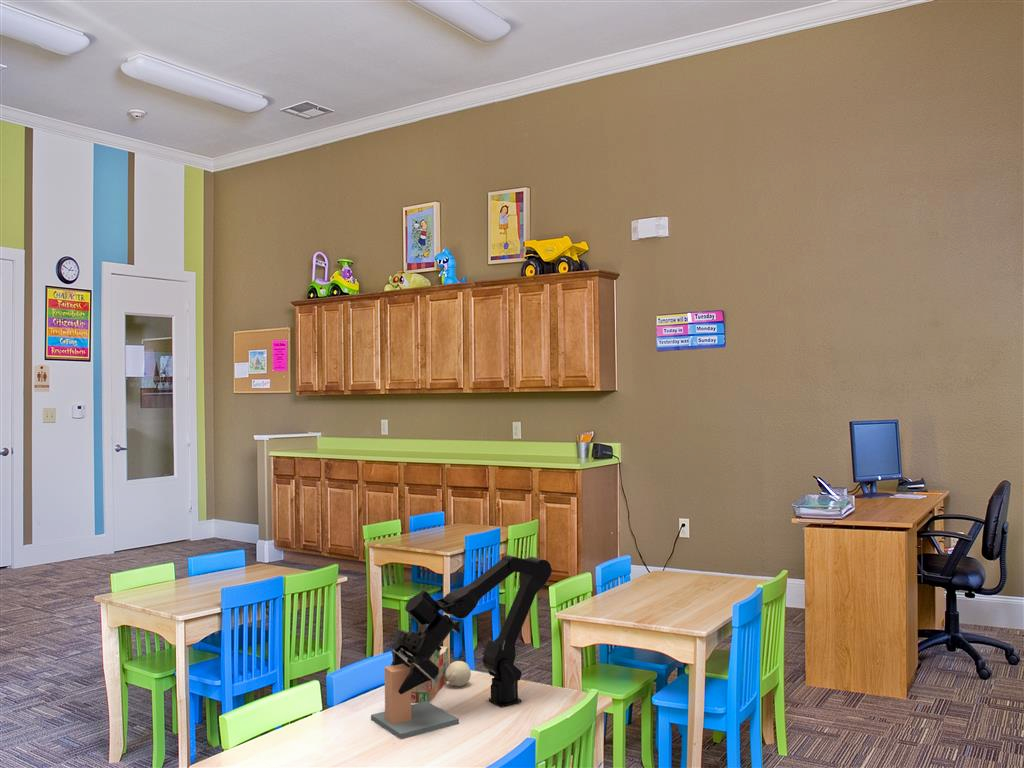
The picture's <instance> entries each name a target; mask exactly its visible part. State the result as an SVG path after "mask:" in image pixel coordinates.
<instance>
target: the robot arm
mask: <svg viewBox="0 0 1024 768" xmlns="http://www.w3.org/2000/svg"><path fill="white" fill-rule="evenodd" d="M552 571H553V568H552V565H551V564H550V562H549V561H548V560H547V559H543V558H539V557H535V556H529V557H526V558H523V557H522V558H521V557H517V556H513V555H509V554H505V555H503V556H502V557H501V559H500V560H499V561H497V562H496V563H495V564H494V565H492V566H491V567H490V568H489V569H488V570H486V571H484V573H482V574H481V575H479V576H478V577H476V579H474V580H473V581H471V582H470V583H469V584H467V585H465V586H462V587H459V588H458V587H457V588H456V589H454V590H452V591H451V592H448V593H447V594H445V596H444V597H442V598H439V599H434V598H433V597H432V596H431V594H430V593H428V591H426V590H424V589H422V590H421V591H420V592H419V593H416V594H415V595H414V596H412V597H410V598H409V600H408V601H407V602H406V604H405V607H404V608H405V611H406V613H407V614H408V615H410V616H411V617H412V618H413V619H414V620H415V621H416V622H417V623H418V624H419V625H421V626H423V625H426V626H425V627H424V628H423V630H422V631H421V630H417V631H412V630H409V631H406V630H404V629H402V628H401V629H400V628H398V627H396V628H395V632H394V634H393V635H392V638H391V642H393V644H392V645H391V647H390V648H391V651H390V652H391V654H392V655H391V656H392V662H391V664H390V666H393V665H399V664H404V665H406V666H407V667H409V668H410V673H409V674H408V676H407V677H406V679H405V680H404V682H403V684H402V685H401V687H400V689H399V690H398V692H399V693H400V694H403V693H405V692H407V691H409V690H410V689H412V688H414V687H416V686H418V685H420V684H422V683H424V682H426V681H430V680H431V679H430V678H429V677H431V678H432V679H434V680H435V678H436V677H437V676H438V674H439V668H438V667H437V666H436V665H435V664H434V663H433V662H432V661H431V660H430V658H431V657H432V655H433V654H434V653H435V651H436V650H437V651H440V650H441V649H442V648H441V647H442V646H441V645H442V644H443V643H444V641H445V640H446V639H447V637H448V636H449V634H451V632H452V631H453V632H454V633H457V634H460V633H461V627H460V625H461V624H460V621H458V620H457V619H460V620H463V619H466V618H467V617H468V616H469V615H470V614H471V613H472V612H473V610H475V608H476V607H477V606H478V604H479V601H480V600H481V599H482V598H483V597H484V596H485V595H487V594H488V593H489V592H490V591H492V590H493V589H494V588H495V587H497V586H498V585H500V584H501V583H502V582H503V581H504V580H506V579H507V578H508V577H510V576H511V575H512V574H513V573H519V586H518V590H517V592H516V594H515V597H514V598H513V601H512V604H511V606H510V609H509V611H508V614H507V616H506V618H505V621H504V622H503V623H504V624H503V626H502V628H501V630H500V631H499V635H498V636H497V638H495V639H494V641H493V640H491V639H488V640H487V643H486V647H485V650H484V651H483V652H482V653H481V654H482V655H483V657H482V663H483V666H484V668H485V669H486V670H487V672H488V674H489V676H492V678H491V685H490V697H489V698H488V701H489V702H491V703H493V704H495V705H497V706H499V707H506V706H509V705H514V704H517V703H521V702H522V698H520V697H519V691H518V690H519V684H518V681H519V682H520V681H521V678H522V674H523V672H522V671H521V670H520V668H518V667H517V666H516V665H515V661H516V656H517V655H516V644H517V641H518V638H519V636H520V634H521V632H522V629H523V626H524V624H525V622H526V619H527V616H528V614H529V612H530V609H531V607H532V605H533V603H534V599H535V597H536V595H537V593H539V591H541V590H542V589H543V588H544V587H545V586H546V584H547V582H548V581H549V579H550V578H551V575H552ZM440 612H441V613H440ZM442 613H444V614H443V615H442ZM449 615H450V616H451V617H454V618H456V620H453V619H452V618H451V617H450V616H449ZM407 662H408V663H409V664H410V665H409V664H408V663H407ZM412 663H415V664H417V665H416V666H415V665H414V664H412Z"/></svg>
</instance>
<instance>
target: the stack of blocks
mask: <svg viewBox="0 0 1024 768" xmlns="http://www.w3.org/2000/svg"><path fill="white" fill-rule="evenodd" d="M440 647H441V648H442V649H441V650H440V651H437V650H436V651H435V653H434V654H433V655H432V657H431V658H430V660H431V661H432V662H433V663H434V664H435V665H436V666H437V667H438V668H439V674H438V676H437V677H436V678H435V680H434V679H432V678H431V677H429V678H430V679H431V680H430V681H426V682H424V683H422V684H420V685H418V686H416V687H414V688H412V689H411V704H418V703H422V702H426V701H427V702H429V703H431V702H432V700H434V698H435V697H436V696H437V695H438V693H439V692H440V690H441V689H442V688H443V686H444V685H445V684H446V683H447V682H448V681H447V680H446V677H445V672H446V670H447V668H448V666H449V665H450V659H449V658H450V657H449V646H440ZM407 663H408V662H407ZM408 664H409V663H408ZM412 664H414V665H415V666H416V665H417V664H415V663H412ZM409 665H410V664H409Z"/></svg>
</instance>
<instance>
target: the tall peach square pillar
mask: <svg viewBox="0 0 1024 768" xmlns="http://www.w3.org/2000/svg"><path fill="white" fill-rule="evenodd" d="M383 670H384V712H385V718H386V719H387V720H388V721H389V722H390V723H391V724H397V723H402V722H406V721H411V720H412V719H411V705H412V703H411V689H410V690H409V691H407V692H405V693H403V694H400V693H399V692H398V690H399V689H400V687H401V685H402V684H403V682H404V680H405V679H406V677H407V676H408V674H409V673H410V668H409V667H407V666H406V665H404V664H399V665H393V666H391V665H388V666H384V668H383Z"/></svg>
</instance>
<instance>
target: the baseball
mask: <svg viewBox="0 0 1024 768" xmlns="http://www.w3.org/2000/svg"><path fill="white" fill-rule="evenodd" d="M471 672H472V671H471V667H470V665H468V663H466V662H464V661H462V660H456V661H453V662H451V663H449V666H448V668H447V670H446V672H445V677H446V680H447V682H448V683H449V684H450V685H452V686H453V687H463V686H465V685H467V684H468V682H470V680H471V675H472V673H471Z"/></svg>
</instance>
